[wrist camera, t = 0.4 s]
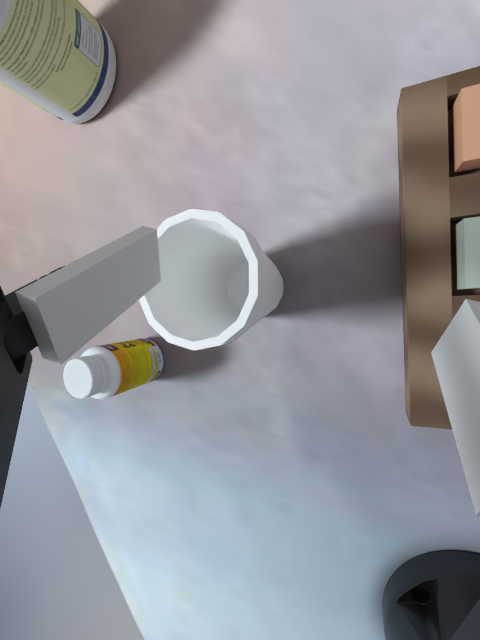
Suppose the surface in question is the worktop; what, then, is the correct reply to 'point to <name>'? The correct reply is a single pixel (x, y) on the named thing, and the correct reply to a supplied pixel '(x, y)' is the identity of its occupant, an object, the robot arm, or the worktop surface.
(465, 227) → the sage tile
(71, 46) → the supplement tub
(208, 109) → the worktop surface
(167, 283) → the foam cup
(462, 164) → the terracotta tile
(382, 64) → the worktop surface
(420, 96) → the walnut board
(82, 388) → the supplement bottle
